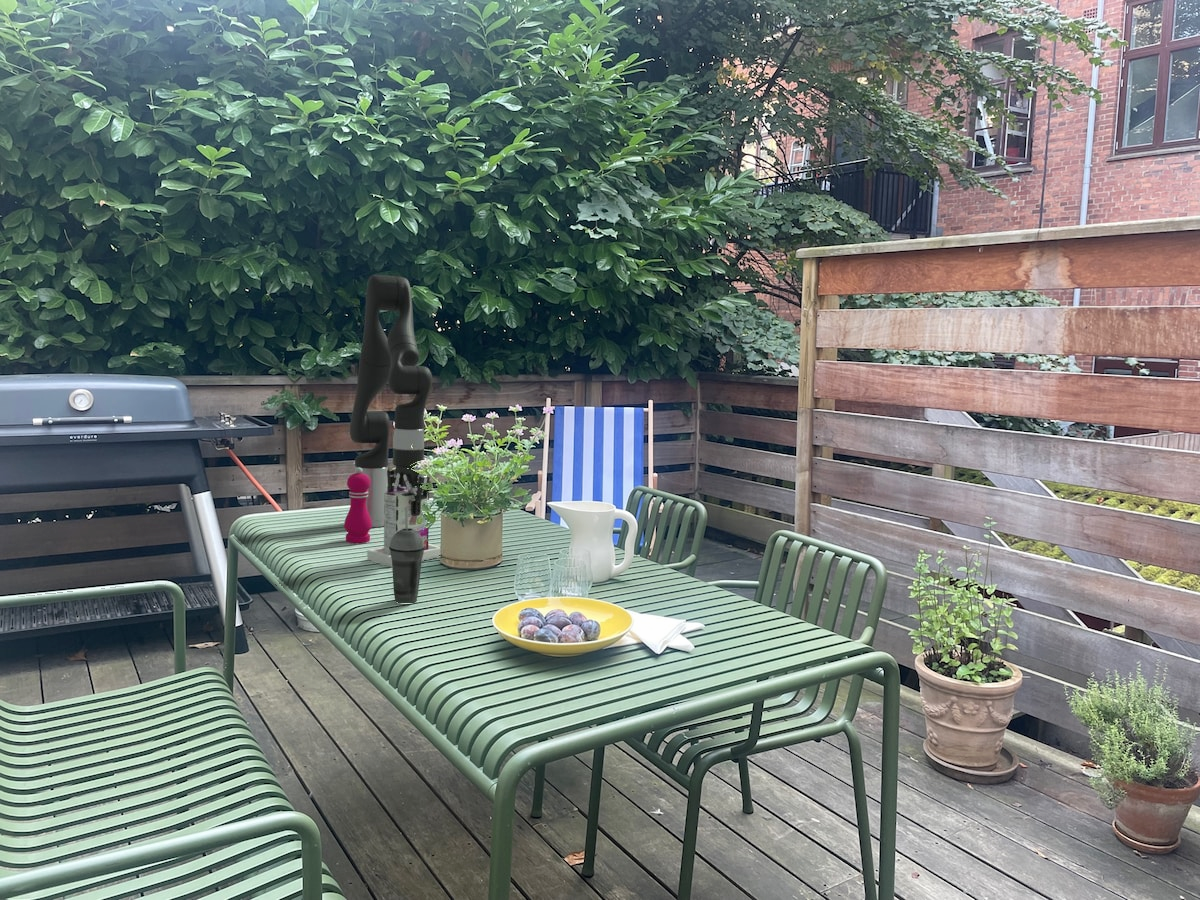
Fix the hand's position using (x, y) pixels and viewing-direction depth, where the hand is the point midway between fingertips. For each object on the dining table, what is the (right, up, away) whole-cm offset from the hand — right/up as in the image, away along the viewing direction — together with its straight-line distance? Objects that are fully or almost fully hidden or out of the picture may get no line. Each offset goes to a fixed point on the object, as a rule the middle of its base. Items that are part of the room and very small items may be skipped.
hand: (407, 513), depth 220 cm
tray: (0, -11, +1) cm, 11 cm away
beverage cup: (+7, -16, -35) cm, 39 cm away
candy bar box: (-1, -11, +1) cm, 11 cm away
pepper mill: (-17, -9, +17) cm, 26 cm away
